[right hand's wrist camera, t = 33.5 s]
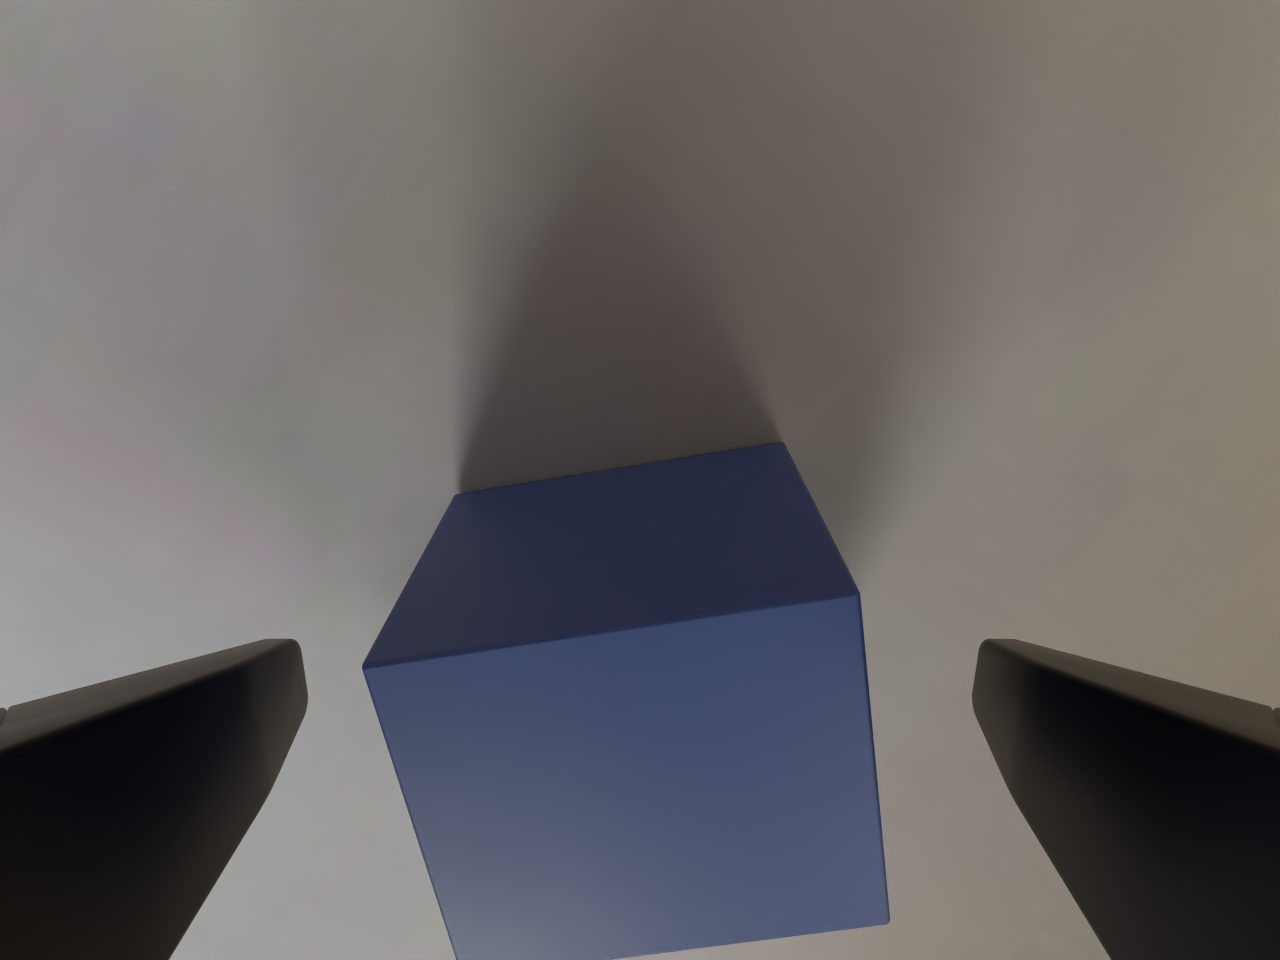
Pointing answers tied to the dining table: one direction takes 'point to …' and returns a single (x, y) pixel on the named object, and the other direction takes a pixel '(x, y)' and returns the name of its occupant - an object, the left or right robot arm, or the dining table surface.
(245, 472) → the dining table surface
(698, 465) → the brick
